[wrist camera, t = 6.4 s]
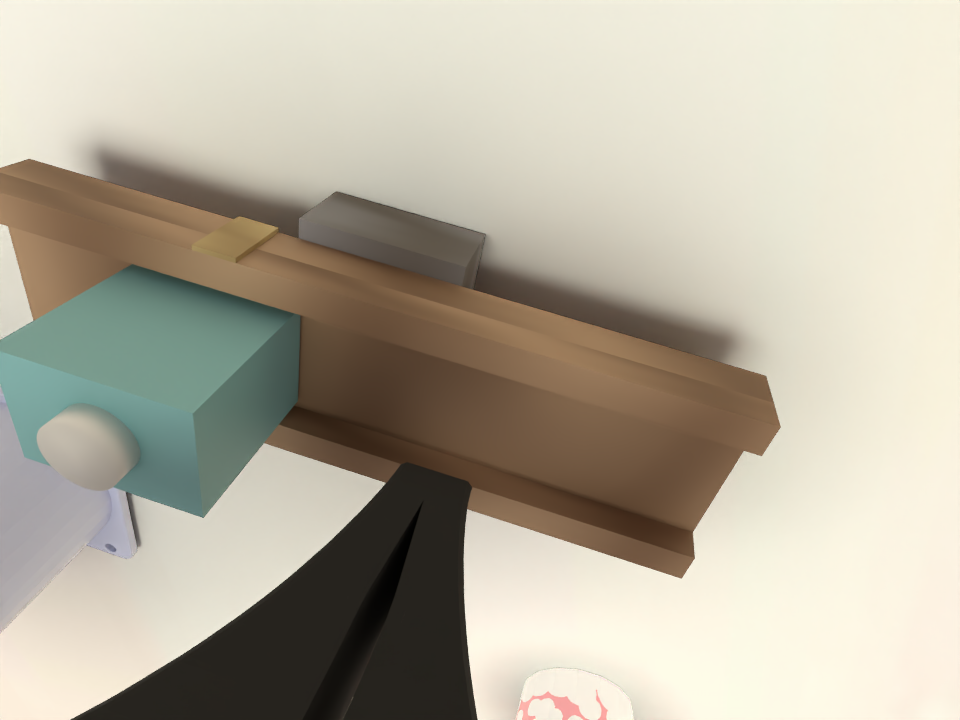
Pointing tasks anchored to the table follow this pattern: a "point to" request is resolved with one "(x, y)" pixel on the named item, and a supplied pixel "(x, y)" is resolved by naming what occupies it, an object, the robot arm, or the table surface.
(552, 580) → the table surface
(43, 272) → the beam
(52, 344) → the rider
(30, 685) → the table surface
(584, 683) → the beverage cup
